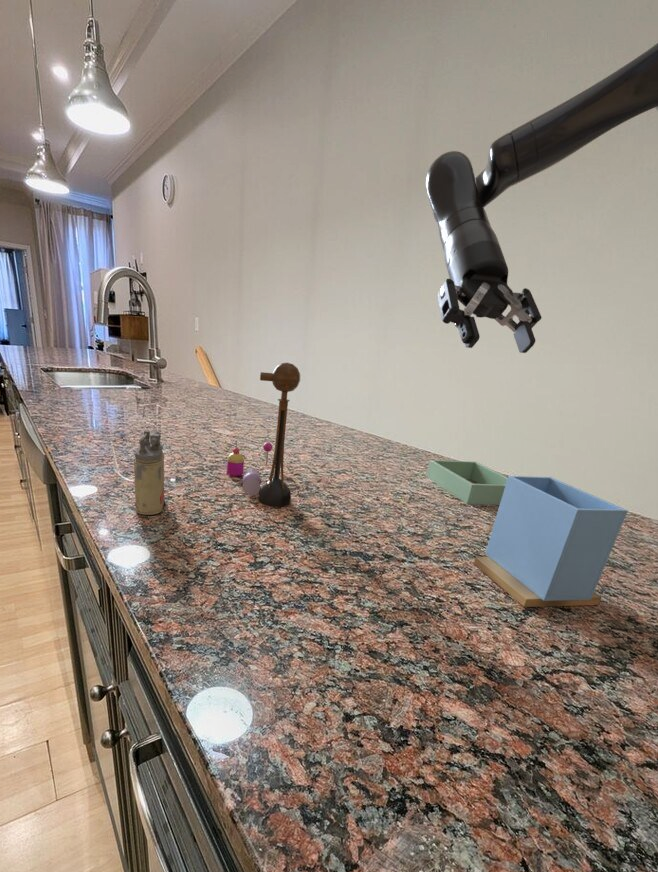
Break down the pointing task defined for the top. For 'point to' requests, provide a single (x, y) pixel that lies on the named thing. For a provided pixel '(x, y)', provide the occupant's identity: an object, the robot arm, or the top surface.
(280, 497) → the wooden tabletop sculpture
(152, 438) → the beige upright cylinder
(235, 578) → the top surface
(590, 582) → the top bin
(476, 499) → the bottom bin
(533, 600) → the cork mat
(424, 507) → the top surface
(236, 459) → the candy
